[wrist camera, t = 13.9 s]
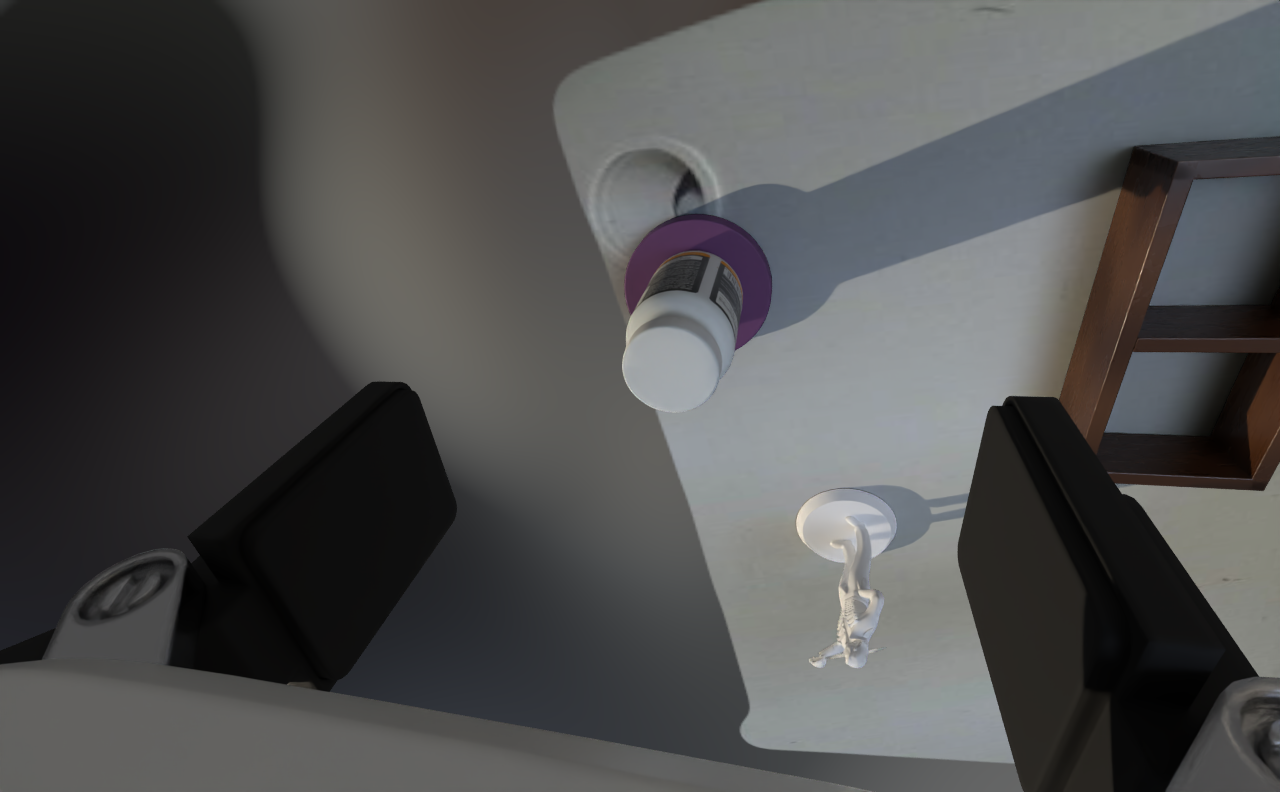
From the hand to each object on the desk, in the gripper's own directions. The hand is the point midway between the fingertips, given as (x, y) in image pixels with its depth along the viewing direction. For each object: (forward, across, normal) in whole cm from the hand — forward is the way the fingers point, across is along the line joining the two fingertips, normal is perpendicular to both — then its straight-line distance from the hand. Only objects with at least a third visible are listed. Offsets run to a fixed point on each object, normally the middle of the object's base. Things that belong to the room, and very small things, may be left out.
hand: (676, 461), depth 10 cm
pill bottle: (+26, +4, +8) cm, 28 cm away
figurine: (+27, -6, +26) cm, 39 cm away
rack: (+27, -22, +10) cm, 36 cm away
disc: (+27, +4, +8) cm, 29 cm away
